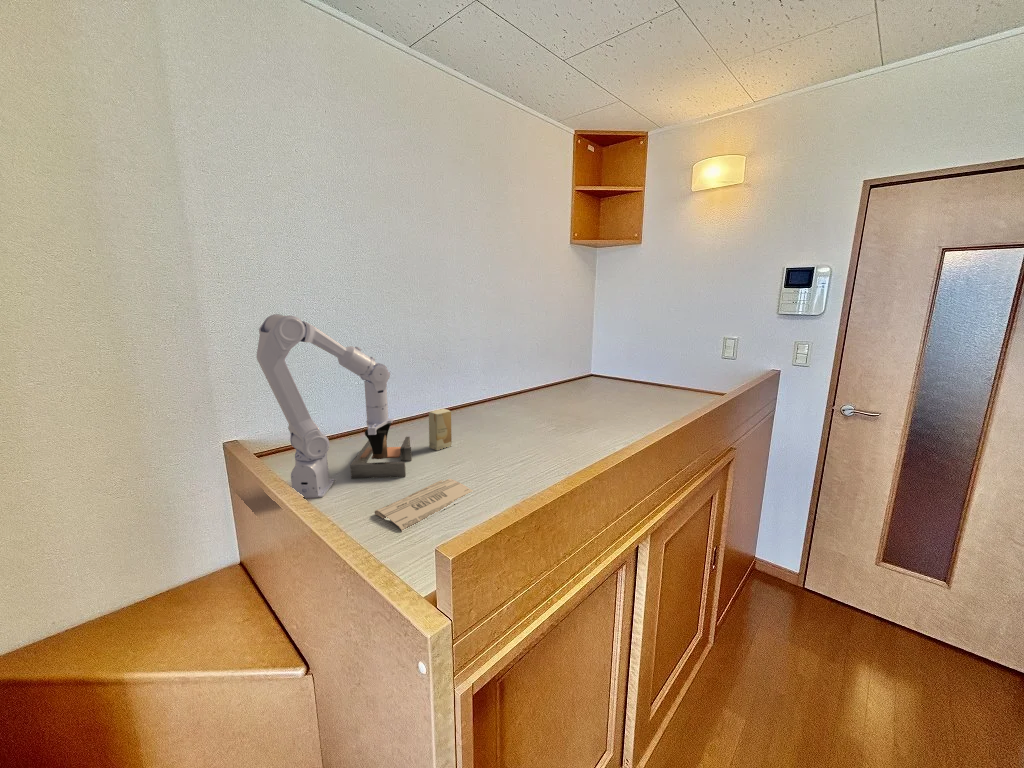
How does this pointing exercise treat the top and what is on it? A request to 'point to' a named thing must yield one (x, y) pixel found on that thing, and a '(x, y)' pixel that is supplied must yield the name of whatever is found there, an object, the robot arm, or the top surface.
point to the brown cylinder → (384, 452)
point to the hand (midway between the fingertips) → (379, 450)
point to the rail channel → (380, 464)
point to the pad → (393, 452)
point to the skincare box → (440, 429)
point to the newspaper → (423, 503)
